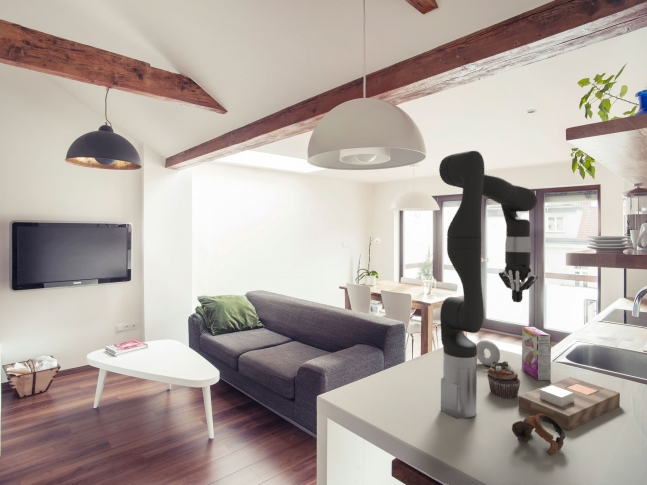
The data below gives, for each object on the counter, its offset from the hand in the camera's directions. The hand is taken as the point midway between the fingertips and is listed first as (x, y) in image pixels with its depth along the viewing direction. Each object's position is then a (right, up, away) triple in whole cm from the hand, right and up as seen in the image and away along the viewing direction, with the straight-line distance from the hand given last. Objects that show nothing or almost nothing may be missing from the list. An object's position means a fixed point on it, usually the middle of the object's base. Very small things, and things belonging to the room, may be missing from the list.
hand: (517, 301), depth 126 cm
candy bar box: (+13, -29, +11) cm, 33 cm away
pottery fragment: (-12, -31, -33) cm, 46 cm away
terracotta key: (+15, -28, -10) cm, 33 cm away
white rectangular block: (+2, -26, -17) cm, 31 cm away
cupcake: (-6, -29, -4) cm, 30 cm away
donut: (-1, -29, +21) cm, 35 cm away
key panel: (+8, -29, -14) cm, 34 cm away
